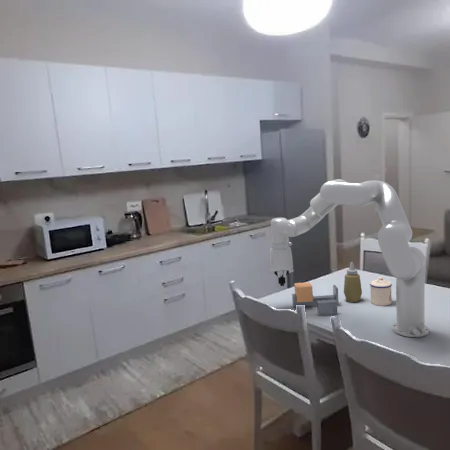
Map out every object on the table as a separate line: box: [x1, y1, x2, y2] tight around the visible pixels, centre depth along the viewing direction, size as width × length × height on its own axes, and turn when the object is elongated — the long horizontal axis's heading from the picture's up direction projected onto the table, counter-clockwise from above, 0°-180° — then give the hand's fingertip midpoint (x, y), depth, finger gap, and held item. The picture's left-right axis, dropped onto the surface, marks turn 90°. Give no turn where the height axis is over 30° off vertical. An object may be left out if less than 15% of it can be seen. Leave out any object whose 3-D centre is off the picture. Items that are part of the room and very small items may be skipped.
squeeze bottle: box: [343, 261, 363, 303], centre depth 189 cm, size 8×8×18 cm
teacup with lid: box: [369, 276, 393, 307], centre depth 185 cm, size 12×9×12 cm
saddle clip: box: [294, 281, 314, 302], centre depth 187 cm, size 6×7×7 cm
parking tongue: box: [316, 300, 338, 316], centre depth 176 cm, size 3×8×6 cm, turn 89°
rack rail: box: [291, 284, 340, 309], centre depth 189 cm, size 10×20×8 cm, turn 89°
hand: (282, 285), depth 187 cm, fingers closed
